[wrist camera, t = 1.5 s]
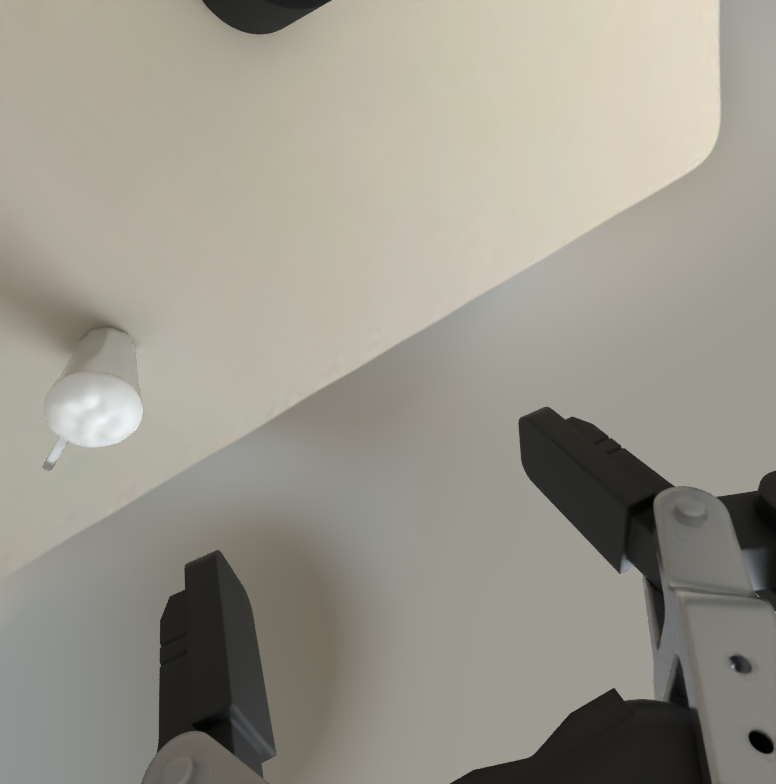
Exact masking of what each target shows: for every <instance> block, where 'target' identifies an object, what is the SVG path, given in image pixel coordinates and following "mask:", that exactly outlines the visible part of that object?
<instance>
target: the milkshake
mask: <svg viewBox="0 0 776 784" xmlns="http://www.w3.org/2000/svg"><path fill="white" fill-rule="evenodd" d="M142 416H143V408H142V401H141V394H140V388H139V380H138V368H137V355H136V346H135V345H134V343H133V342H132V340H131V339H130V338H129V336H128V335H127V334H126V333H124V332H121V331H119V330H117V329H114V328H112V327H106V328H98V329H93V330H92V331H90V332H89V333H88V334H87V335H86V336H85V337H84V338H83V339H81V341H80V342H79V344H78V346H77V348H76V349H75V351H74V353H73V354H72V356H71V358H70V359H69V361H68V363H67V364H66V366H65V368H64V370H63V371H62V373H61V374H60V376H59V377H58V379H57V380H56V382H55V383H54V384H53V386H52V387H51V389H50V390H49V391H48V393H47V394H46V396H45V400H44V417H45V421H46V423H47V425H48V426H49V427H50V428H51V430H52V431H54V432H55V433H56V434H57V435H58V436H60V437H59V438H58V440H57V442H56V444H55V445H54V447H53V449H52V450H51V452H50V454H49V456H48V457H47V459H46V461H45V462H44V464H43V466H42V468H43V469H45V470H47V471H49V472H50V471H51V470H52V468H53V467H54V465H55V463H56V461H57V460H58V458H59V456H60V454H61V453H62V451H63V449H64V447H65V446H66V444H67V442H71V443H73V444H76V445H79V446H83V447H103V446H108V445H112V444H115V443H118V442H120V441H122V440H123V439H125V438H126V437H128V436H129V435H130V434H132V433H133V432H134V431H135V430H136V429H137V427H138V426H139V424H140V422H141V420H142Z"/></svg>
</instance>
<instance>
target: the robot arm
mask: <svg viewBox="0 0 776 784" xmlns="http://www.w3.org/2000/svg"><path fill="white" fill-rule="evenodd" d="M519 436H520V449H521V461H522V465H523V468H524V470H525V472H526V474H527V476H528V477H529V479H530V480H531V481H532V482H533V483H534V484H535V485H536V487H538V488H539V490H540V491H541V492H542V493H543V494H544V495H545V496H546V497H547V498H548V499H549V500H550V501H551V502H552V503H553V504H554V505H555V506H556V507H557V509H559V511H560V512H561V513H562V514H563V515H564V516H565V517H566V518H567V519H568V520H569V521H570V522H571V523H572V524H573V525H574V526H575V527H576V528H577V529H578V531H579V532H580V533H581V534H582V535H583V536H584V537H585V538H586V539H587V540H588V541H589V542H590V543H591V544H592V545H593V546H594V547H595V548H596V549H597V550H598V552H599V553H600V554H601V555H602V556H603V557H604V558H605V559H606V560H607V561H608V562H609V563H610V564H611V565H612V566H613V567H614V568H615V569H616V570H617V571H618V572H619V574H621V573H623V572H625V571H627V570H629V569H631V568H633V567H636V568H637V569H638V570H639V571H640V572H641V573H642V574H643V587H644V594H645V601H646V608H647V614H648V615H647V616H648V623H649V630H650V637H651V644H652V651H653V662H654V696H655V700H647V699H637V700H627V701H624V700H623V699H622V698H621V696H620V695H619V694H618V692H617V691H616V690H615V688H613V689H611V690H609V691H608V692H606V693H605V694H603V695H601V696H599V697H598V698H596V699H594V700H592V701H591V702H589V703H587V704H586V705H584V706H582V707H581V708H579V709H577V710H576V711H574V712H572V713H570V714H569V716H568V717H567V718H566V719H565V720H564V721H563V722H562V723H561V725H560V726H559V727H558V728H557V729H556V730H555V731H554V733H553V734H552V735H551V736H550V737H549V738H548V739H547V741H546V742H545V743H544V744H543V745H542V746H541V747H540V749H539V750H538V751H537V752H536V753H535V754H534V755H533V756H531V757H529V758H526V759H522V760H517V761H513V762H508V763H503V764H499V765H494V766H490V767H485V768H481V769H476V770H473V771H471V772H469V773H468V774H466V775H464V776H462V777H461V778H459V779H457V780H456V781H454V782H452V783H451V784H776V614H775V611H776V471H773V472H770V473H768V474H767V475H765V476H764V477H763V478H762V480H761V481H760V484H759V488H758V491H753V492H746V493H740V494H734V495H727V496H720V497H715V496H713V495H712V494H710V493H708V492H706V491H703V490H700V489H697V488H693V487H685V486H678V487H675V486H673V485H672V484H671V483H669V482H668V481H666V480H665V479H664V478H663V477H661V476H660V475H659V474H657V473H656V472H655V471H653V470H652V469H651V468H649V467H648V466H647V465H646V464H644V463H643V462H642V461H640V460H639V459H637V458H636V457H635V456H634V455H632V454H631V453H630V452H629V451H627V450H626V449H624V448H623V449H622V448H621V445H619V444H618V443H617V442H615V441H614V440H613V439H609V437H608V435H606V434H605V433H604V432H602V431H601V430H600V429H598V428H597V427H596V426H595V425H593V424H591V423H588V422H586V421H583V420H580V419H577V418H575V417H570V418H568V419H566V420H565V419H564V418H562V417H561V416H560V415H559V414H557V413H556V412H555V411H554V410H552V409H551V408H549V407H544V408H541V409H539V410H537V411H534V412H532V413H530V414H528V415H525V416H523V417H521V418H520V419H519ZM756 594H757V595H758V596H759V597H758V596H757V595H756ZM774 610H775V611H774ZM160 644H161V648H160V664H161V667H160V688H159V690H160V691H159V743H158V750H157V754H156V755H155V757H154V758H153V760H152V761H151V763H150V764H149V766H148V768H147V770H146V772H145V774H144V777H143V780H142V783H141V784H269V783H268V782H267V781H266V780H264V778H263V771H262V764H261V763H263V762H265V761H267V760H269V759H271V758H272V757H274V756H276V750H275V743H274V738H273V732H272V726H271V720H270V714H269V708H268V702H267V697H266V691H265V684H264V678H263V672H262V666H261V660H260V654H259V648H258V642H257V637H256V631H255V624H254V618H253V613H252V608H251V604H250V601H249V598H248V596H247V593H246V591H245V589H244V587H243V585H242V584H241V582H240V581H239V579H238V578H237V576H236V574H235V573H234V572H233V570H232V568H231V567H230V565H229V564H228V562H227V560H226V559H225V557H224V556H223V554H222V553H221V552H220V551H219V550H216V551H214V552H212V553H209V554H207V555H205V556H203V557H200V558H198V559H196V560H193V561H191V562H189V563H187V564H186V565H185V590H183V591H181V592H179V593H177V594H174V595H172V596H170V597H169V600H168V603H167V605H166V608H165V610H164V613H163V615H162V618H161V620H160Z"/></svg>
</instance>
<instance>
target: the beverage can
mask: <svg viewBox="0 0 776 784" xmlns="http://www.w3.org/2000/svg"><path fill="white" fill-rule="evenodd" d="M329 1H331V0H203V2H204V3H205V4H206V5H207V7H208V8H209V9H210V10H211V11H212V12H213V13H214V14H215V15H216V16H217V17H219V18H220V19H221V20H222V21H224V22H225V23H227V24H228V25H230V26H232V27H234V28H236V29H238V30H240V31H243V32H247V33H251V34H268V33H273V32H276V31H278V30H281V29H283V28H284V27H286V26H288V25H289V24H291V23H293V22H295V21H296V20H298V19H300V18H302V17H303V16H305V15H307V14H309V13H310V12H312V11H314V10H315V9H317V8H319V7H321V6H322V5H324V4H326V3H328V2H329Z"/></svg>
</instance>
